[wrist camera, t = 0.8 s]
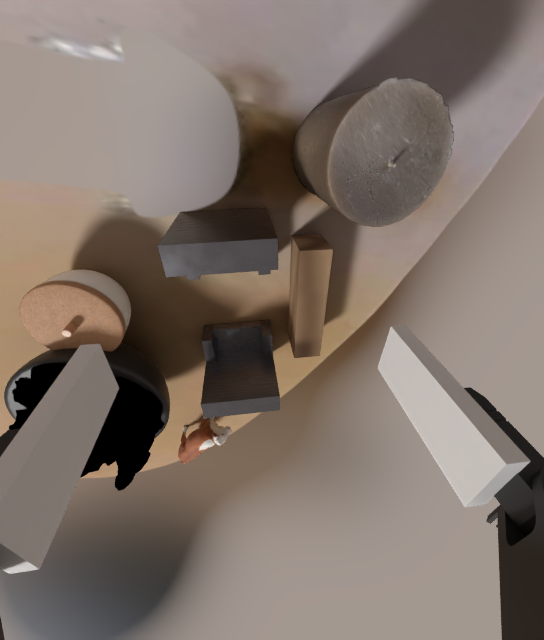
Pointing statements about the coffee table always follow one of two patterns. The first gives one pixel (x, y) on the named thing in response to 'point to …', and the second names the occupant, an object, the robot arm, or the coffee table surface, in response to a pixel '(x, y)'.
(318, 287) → the rail
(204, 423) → the bull figurine
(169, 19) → the coffee table surface
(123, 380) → the dark grey bowl
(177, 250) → the grey stand
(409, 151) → the pillar candle
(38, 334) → the lidded jar
